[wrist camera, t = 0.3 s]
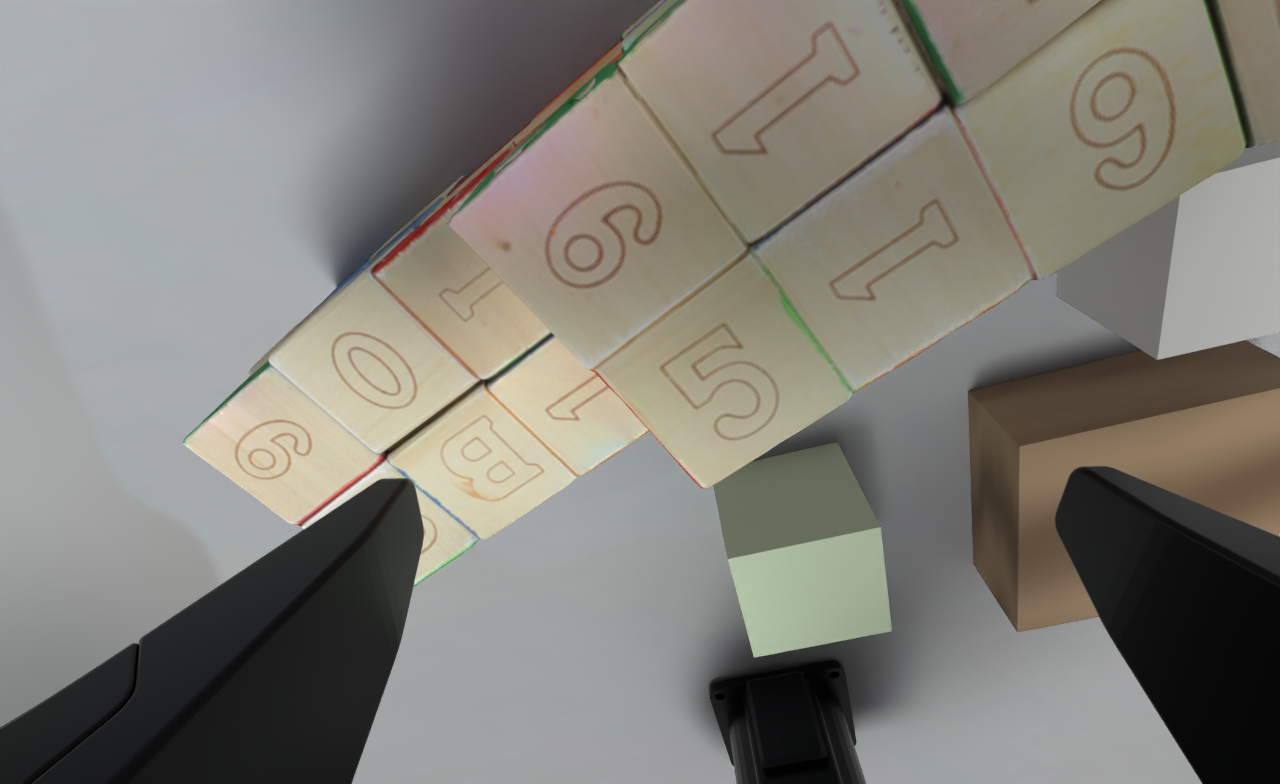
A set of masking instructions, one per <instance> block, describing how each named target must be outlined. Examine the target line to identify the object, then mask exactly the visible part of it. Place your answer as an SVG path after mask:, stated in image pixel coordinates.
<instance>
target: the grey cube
mask: <svg viewBox="0 0 1280 784" xmlns="http://www.w3.org/2000/svg"><path fill="white" fill-rule="evenodd" d="M1057 297H1059V298H1060V299H1062V300H1063V301H1065V302H1067V303H1068V304H1070V305H1071V306H1073V307H1074V308H1076V309H1078V310H1079V311H1081V312H1082V313H1084V314H1085V315H1087V316H1089V317H1090V318H1092V319H1093V320H1095V321H1097V322H1098V323H1100V324H1101V325H1103V326H1104V327H1106V328H1108V329H1109V330H1111V331H1112V332H1114V333H1115V334H1117V335H1119V336H1120V337H1122V338H1123V339H1125V340H1127V341H1128V342H1130V343H1131V344H1133V345H1134V346H1136V347H1138V348H1139V349H1141V350H1142V351H1144V352H1145V353H1147V354H1149V355H1150V356H1152V357H1153V358H1155V359H1157V360H1159V359H1164V358H1168V357H1173V356H1177V355H1181V354H1186V353H1190V352H1195V351H1199V350H1204V349H1208V348H1212V347H1217V346H1221V345H1226V344H1230V343H1235V342H1239V341H1243V340H1248V339H1252V338H1257V337H1261V336H1266V335H1270V334H1274V333H1279V332H1280V139H1278V140H1276V141H1274V142H1271V143H1268V144H1264V145H1261V146H1257V147H1254V148H1245V150H1244V152H1243V154H1242V156H1241V157H1239V158H1238V159H1237V160H1236V161H1234V162H1233V163H1232V164H1231V165H1228V166H1226V167H1225V168H1223V169H1221V170H1220V171H1218V172H1217V173H1215V174H1213V175H1212V176H1210V177H1209V178H1207V179H1205V180H1204V181H1202V182H1201V183H1199V184H1197V185H1196V186H1194V187H1193V188H1191V189H1189V190H1188V191H1186V192H1185V193H1183V194H1182V195H1180V196H1178V197H1177V198H1175V199H1174V200H1172V201H1170V202H1169V203H1167V204H1166V205H1164V206H1162V207H1161V208H1159V209H1158V210H1156V211H1154V212H1153V213H1151V214H1150V215H1148V216H1146V217H1145V218H1143V219H1141V220H1140V221H1138V222H1137V223H1135V224H1133V225H1132V226H1130V227H1128V228H1127V229H1125V230H1123V231H1122V232H1120V233H1118V234H1117V235H1115V236H1113V237H1112V238H1110V239H1109V240H1107V241H1105V242H1104V243H1102V244H1100V245H1099V246H1097V247H1095V248H1094V249H1092V250H1090V251H1089V252H1087V253H1086V254H1084V255H1082V256H1081V257H1079V258H1078V259H1076V260H1074V261H1073V262H1071V263H1070V264H1068V265H1066V266H1065V267H1063V268H1061V269H1059V270H1058V277H1057Z"/></svg>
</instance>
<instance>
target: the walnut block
mask: <svg viewBox="0 0 1280 784" xmlns="http://www.w3.org/2000/svg"><path fill="white" fill-rule="evenodd" d="M968 407H969V438H970V470H971V502H972V533H973V564H974V566H975V567H976V569H977V571H978V572H979V574H980V575H981V577H982V578H983V580H984V581H985V583H986V585H987V586H988V588H989V589H990V591H991V592H992V594H993V595H994V597H995V598H996V600H997V602H998V603H999V605H1000V606H1001V608H1002V609H1003V611H1004V612H1005V614H1006V616H1007V617H1008V619H1009V620H1010V622H1011V623H1012V625H1013V626H1014V628H1015V629H1016V631H1017V632H1022V631H1027V630H1032V629H1037V628H1043V627H1048V626H1053V625H1058V624H1063V623H1068V622H1073V621H1079V620H1084V619H1089V618H1094V617H1099V615H1098V613H1097V611H1096V609H1095V607H1094V605H1093V603H1092V601H1091V599H1090V597H1089V595H1088V593H1087V591H1086V589H1085V587H1084V585H1083V583H1082V581H1081V579H1080V577H1079V575H1078V573H1077V571H1076V569H1075V567H1074V565H1073V563H1072V561H1071V559H1070V557H1069V555H1068V553H1067V551H1066V549H1065V547H1064V545H1063V543H1062V541H1061V539H1060V537H1059V535H1058V533H1057V530H1056V526H1055V514H1056V511H1057V508H1058V505H1059V503H1060V500H1061V497H1062V494H1063V492H1064V489H1065V486H1066V483H1067V481H1068V478H1069V476H1070V474H1071V472H1072V471H1073V470H1074V469H1076V468H1078V467H1082V466H1108V467H1112V468H1115V469H1117V470H1120V471H1122V472H1125V473H1127V474H1129V475H1132V476H1134V477H1137V478H1139V479H1141V480H1144V481H1146V482H1149V483H1151V484H1154V485H1156V486H1158V487H1161V488H1163V489H1166V490H1168V491H1170V492H1173V493H1175V494H1178V495H1180V496H1183V497H1185V498H1187V499H1190V500H1192V501H1195V502H1197V503H1200V504H1202V505H1204V506H1207V507H1209V508H1212V509H1214V510H1216V511H1219V512H1221V513H1224V514H1226V515H1229V516H1231V517H1233V518H1236V519H1238V520H1241V521H1243V522H1246V523H1248V524H1250V525H1253V526H1255V527H1258V528H1260V529H1262V530H1265V531H1267V532H1270V533H1272V534H1275V535H1277V536H1279V534H1280V358H1279V357H1277V356H1275V355H1273V354H1271V353H1269V352H1267V351H1265V350H1263V349H1261V348H1259V347H1257V346H1256V345H1254V344H1252V343H1250V342H1248V341H1246V340H1243V341H1239V342H1235V343H1230V344H1226V345H1221V346H1217V347H1212V348H1208V349H1204V350H1199V351H1195V352H1190V353H1186V354H1181V355H1177V356H1173V357H1168V358H1164V359H1159V360H1157V359H1155V358H1153V357H1152V356H1150V355H1149V354H1147V353H1145V352H1144V351H1142V350H1140V351H1136V352H1131V353H1127V354H1123V355H1119V356H1114V357H1110V358H1106V359H1102V360H1098V361H1093V362H1089V363H1085V364H1081V365H1076V366H1072V367H1068V368H1064V369H1059V370H1055V371H1051V372H1047V373H1042V374H1038V375H1034V376H1030V377H1026V378H1021V379H1017V380H1013V381H1009V382H1004V383H1000V384H996V385H992V386H987V387H983V388H979V389H975V390H971V391H968Z"/></svg>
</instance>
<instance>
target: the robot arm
mask: <svg viewBox="0 0 1280 784" xmlns="http://www.w3.org/2000/svg"><path fill="white" fill-rule="evenodd" d="M1055 526H1056V530H1057V533H1058V535H1059V537H1060V539H1061V541H1062V543H1063V545H1064V547H1065V549H1066V551H1067V553H1068V555H1069V557H1070V559H1071V561H1072V563H1073V565H1074V567H1075V569H1076V571H1077V573H1078V575H1079V577H1080V579H1081V581H1082V583H1083V585H1084V587H1085V589H1086V591H1087V593H1088V595H1089V597H1090V599H1091V601H1092V603H1093V605H1094V607H1095V609H1096V611H1097V613H1098V615H1099V617H1100V619H1101V621H1102V623H1103V625H1104V627H1105V628H1106V630H1107V632H1108V634H1109V635H1110V637H1111V639H1112V640H1113V642H1114V644H1115V645H1116V647H1117V649H1118V650H1119V652H1120V653H1121V655H1122V657H1123V658H1124V660H1125V661H1126V663H1127V665H1128V666H1129V668H1130V669H1131V671H1132V673H1133V674H1134V676H1135V677H1136V679H1137V680H1138V682H1139V684H1140V685H1141V687H1142V688H1143V690H1144V692H1145V693H1146V695H1147V696H1148V698H1149V700H1150V701H1151V703H1152V704H1153V706H1154V708H1155V709H1156V711H1157V712H1158V714H1159V715H1160V717H1161V719H1162V720H1163V722H1164V723H1165V725H1166V727H1167V728H1168V730H1169V731H1170V733H1171V735H1172V736H1173V738H1174V739H1175V741H1176V742H1177V744H1178V746H1179V747H1180V749H1181V750H1182V752H1183V754H1184V755H1185V757H1186V758H1187V760H1188V762H1189V763H1190V765H1191V766H1192V768H1193V770H1194V771H1195V773H1196V774H1197V776H1198V777H1199V779H1200V781H1201V782H1202V784H1280V537H1279V536H1277V535H1275V534H1272V533H1270V532H1267V531H1265V530H1262V529H1260V528H1258V527H1255V526H1253V525H1250V524H1248V523H1246V522H1243V521H1241V520H1238V519H1236V518H1233V517H1231V516H1229V515H1226V514H1224V513H1221V512H1219V511H1216V510H1214V509H1212V508H1209V507H1207V506H1204V505H1202V504H1200V503H1197V502H1195V501H1192V500H1190V499H1187V498H1185V497H1183V496H1180V495H1178V494H1175V493H1173V492H1170V491H1168V490H1166V489H1163V488H1161V487H1158V486H1156V485H1154V484H1151V483H1149V482H1146V481H1144V480H1141V479H1139V478H1137V477H1134V476H1132V475H1129V474H1127V473H1125V472H1122V471H1120V470H1117V469H1115V468H1112V467H1108V466H1082V467H1078V468H1076V469H1074V470H1073V471H1072V472H1071V474H1070V476H1069V478H1068V481H1067V483H1066V486H1065V489H1064V492H1063V494H1062V497H1061V500H1060V503H1059V505H1058V508H1057V511H1056V514H1055ZM423 539H424V527H423V521H422V517H421V512H420V507H419V502H418V497H417V493H416V488H415V485H414V483H413V481H412V480H410V479H409V478H383V479H379V480H378V481H376V482H374V483H373V484H371V485H370V486H368V487H367V488H365V489H364V490H362V491H361V492H359V493H358V494H356V495H355V496H353V497H352V498H350V499H349V500H347V501H346V502H344V503H343V504H341V505H340V506H338V507H337V508H335V509H334V510H332V511H331V512H329V513H328V514H326V515H325V516H323V517H322V518H320V519H319V520H317V521H316V522H314V523H313V524H311V525H310V526H308V527H307V528H305V529H304V530H302V531H301V532H299V533H298V534H296V535H295V536H293V537H292V538H290V539H289V540H287V541H286V542H284V543H283V544H281V545H280V546H278V547H277V548H275V549H274V550H272V551H271V552H269V553H268V554H266V555H265V556H263V557H262V558H260V559H259V560H257V561H256V562H254V563H253V564H251V565H250V566H248V567H247V568H245V569H244V570H242V571H241V572H239V573H238V574H236V575H235V576H233V577H232V578H230V579H229V580H227V581H226V582H224V583H223V584H221V585H220V586H218V587H217V588H215V589H214V590H212V591H211V592H209V593H208V594H206V595H205V596H203V597H202V598H200V599H199V600H197V601H196V602H194V603H193V604H191V605H190V606H188V607H187V608H185V609H183V610H182V611H180V612H179V613H178V614H176V615H174V616H173V617H171V618H170V619H168V620H167V621H165V622H164V623H162V624H161V625H160V626H158V627H157V628H155V629H153V630H152V631H150V632H149V633H148V634H146V635H144V636H143V637H142V638H141V639H140V640H139V644H137V643H133V644H131V645H129V646H128V647H126V648H125V649H123V650H122V651H120V652H119V653H117V654H116V655H114V656H113V657H111V658H110V659H108V660H107V661H105V662H104V663H102V664H101V665H99V666H98V667H96V668H95V669H93V670H91V671H90V672H88V673H87V674H85V675H84V676H82V677H81V678H79V679H77V680H76V681H74V682H73V683H72V684H70V685H68V686H67V687H65V688H63V689H62V690H60V691H59V692H57V693H56V694H54V695H53V696H51V697H49V698H48V699H46V700H45V701H43V702H42V703H40V704H38V705H37V706H35V707H33V708H32V709H30V710H28V711H27V712H25V713H24V714H22V715H20V716H19V717H17V718H15V719H14V720H12V721H10V722H9V723H7V724H5V725H4V726H2V727H0V784H352V781H353V778H354V775H355V772H356V770H357V767H358V764H359V761H360V758H361V755H362V752H363V750H364V747H365V744H366V741H367V738H368V735H369V732H370V730H371V727H372V724H373V721H374V718H375V715H376V713H377V710H378V707H379V704H380V701H381V698H382V695H383V693H384V690H385V687H386V684H387V681H388V678H389V676H390V673H391V670H392V667H393V664H394V661H395V658H396V655H397V652H398V649H399V646H400V642H401V638H402V634H403V630H404V626H405V622H406V617H407V613H408V608H409V604H410V599H411V595H412V590H413V586H414V581H415V577H416V573H417V568H418V564H419V559H420V555H421V550H422V546H423ZM709 694H710V700H711V703H712V706H713V709H714V712H715V715H716V718H717V721H718V724H719V727H720V730H721V733H722V736H723V739H724V742H725V745H726V748H727V751H728V754H729V757H730V760H731V763H732V765H733V766H734V768H735V775H736V781H737V784H866V782H865V778H864V775H863V772H862V769H861V766H860V763H859V760H858V757H857V753H856V750H855V747H854V746H855V745H856V737H855V731H854V725H853V719H852V713H851V707H850V701H849V695H848V689H847V683H846V677H845V672H844V669H843V666H842V664H841V663H840V662H838V661H829V662H823V663H818V664H813V665H808V666H802V667H797V668H792V669H787V670H781V671H776V672H771V673H766V674H760V675H755V676H750V677H745V678H739V679H734V680H729V681H724V682H718V683H715V684H713V685H711V686H710V688H709Z"/></svg>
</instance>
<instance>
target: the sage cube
mask: <svg viewBox="0 0 1280 784" xmlns="http://www.w3.org/2000/svg"><path fill="white" fill-rule="evenodd" d="M714 491H715V496H716V501H717V506H718V511H719V516H720V521H721V526H722V532H723V537H724V542H725V547H726V552H727V557H728V562H729V565H730V569H731V573H732V577H733V580H734V584H735V588H736V592H737V596H738V599H739V603H740V607H741V611H742V614H743V618H744V622H745V626H746V630H747V633H748V637H749V641H750V645H751V648H752V652H753V656H754V658H755V657H760V656H766V655H771V654H776V653H781V652H786V651H792V650H797V649H802V648H807V647H812V646H818V645H823V644H828V643H833V642H838V641H844V640H849V639H854V638H859V637H864V636H869V635H875V634H880V633H885V632H890V631H892V627H891V618H890V608H889V599H888V590H887V580H886V571H885V562H884V553H883V543H882V534H881V527H880V525H879V523H878V521H877V519H876V517H875V515H874V513H873V511H872V509H871V507H870V505H869V503H868V501H867V499H866V497H865V495H864V493H863V491H862V489H861V487H860V485H859V483H858V481H857V480H856V478H855V476H854V474H853V472H852V470H851V468H850V466H849V464H848V462H847V460H846V458H845V456H844V454H843V452H842V450H841V448H840V446H839V444H838V442H835V443H830V444H826V445H822V446H817V447H813V448H808V449H804V450H799V451H795V452H790V453H786V454H782V455H777V456H773V457H768V458H764V459H759V460H755V461H751V462H750V463H748V464H747V465H745V466H743V467H742V468H740V469H739V470H737V471H735V472H734V473H732V474H731V475H729V476H727V477H726V478H724V479H723V480H721V481H719V482H718V483H716V484H714Z"/></svg>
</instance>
